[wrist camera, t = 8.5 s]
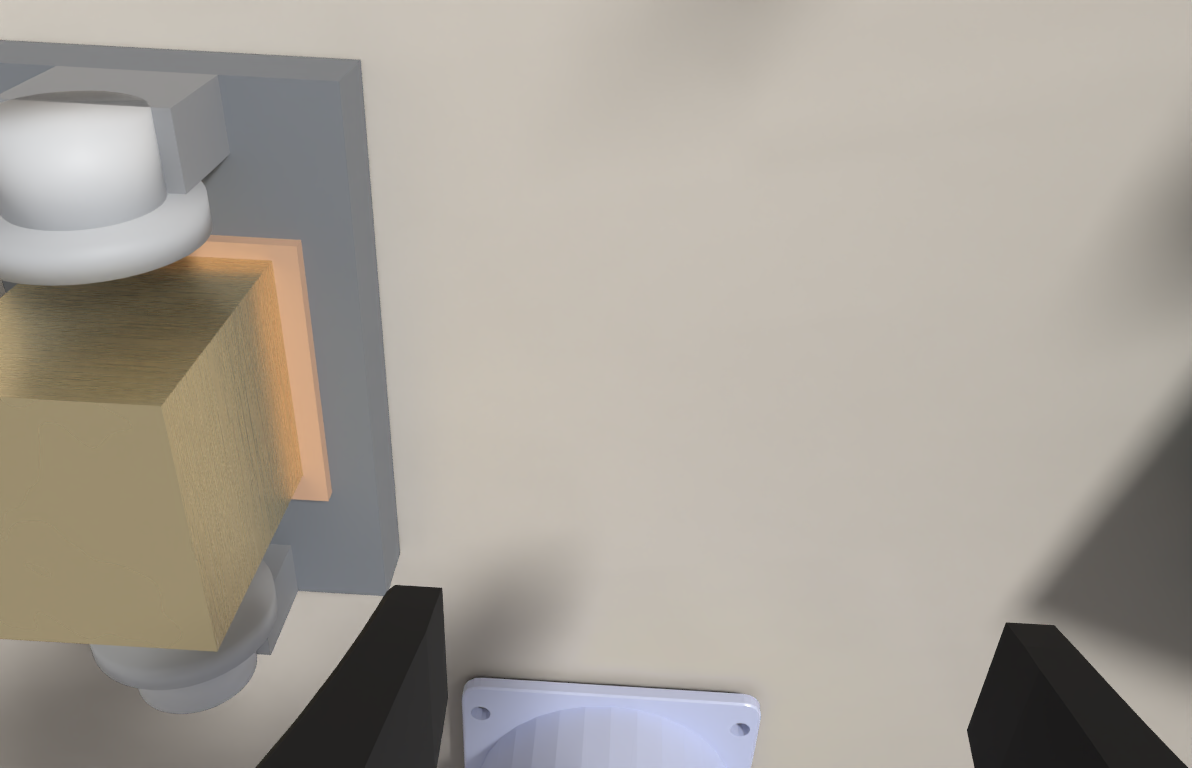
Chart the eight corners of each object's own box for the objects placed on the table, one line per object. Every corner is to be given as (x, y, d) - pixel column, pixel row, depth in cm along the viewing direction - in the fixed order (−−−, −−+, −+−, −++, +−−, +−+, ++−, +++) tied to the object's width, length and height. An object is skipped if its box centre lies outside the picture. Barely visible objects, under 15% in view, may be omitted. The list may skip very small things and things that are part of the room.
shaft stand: (399, 553, 25) (338, 749, 20) (120, 536, 25) (-11, 727, 20) (360, 59, 18) (256, 166, 13) (-16, 39, 18) (-258, 137, 13)
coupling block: (303, 474, 21) (217, 651, 17) (117, 464, 21) (-15, 638, 17) (271, 260, 18) (161, 406, 14) (59, 248, 19) (-114, 390, 14)
